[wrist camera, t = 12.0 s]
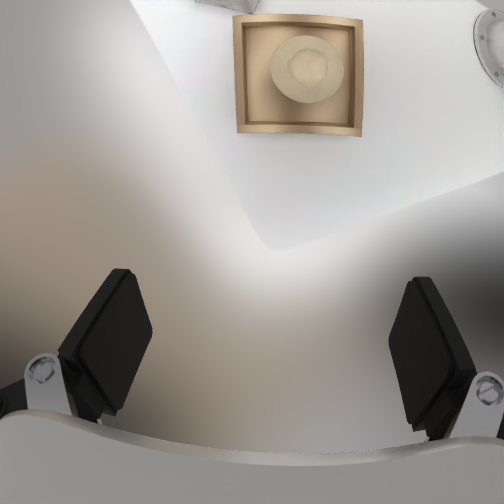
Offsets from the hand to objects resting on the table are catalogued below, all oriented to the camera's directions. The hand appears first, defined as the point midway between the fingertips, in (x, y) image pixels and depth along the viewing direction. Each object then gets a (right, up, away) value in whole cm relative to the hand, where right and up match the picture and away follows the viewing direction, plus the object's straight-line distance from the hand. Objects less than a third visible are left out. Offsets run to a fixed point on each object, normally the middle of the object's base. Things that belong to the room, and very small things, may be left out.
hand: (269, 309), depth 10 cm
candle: (+4, +20, +17) cm, 26 cm away
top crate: (+4, +20, +17) cm, 27 cm away
